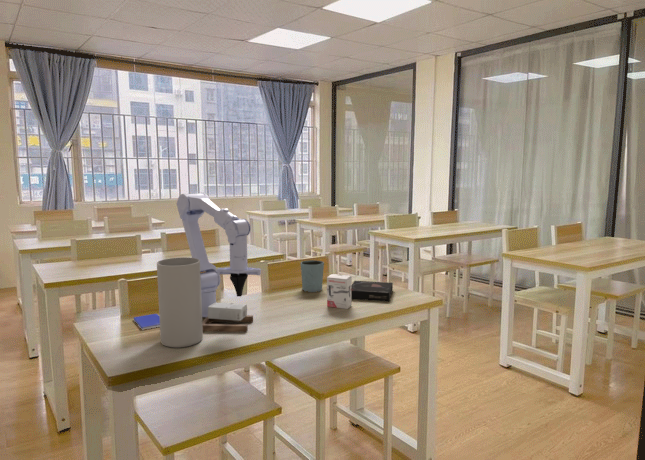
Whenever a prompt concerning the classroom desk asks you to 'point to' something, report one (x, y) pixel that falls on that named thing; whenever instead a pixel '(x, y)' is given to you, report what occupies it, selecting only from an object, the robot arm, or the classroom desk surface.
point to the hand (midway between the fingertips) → (239, 295)
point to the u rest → (226, 325)
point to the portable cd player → (371, 291)
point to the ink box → (339, 291)
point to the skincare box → (227, 311)
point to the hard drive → (148, 321)
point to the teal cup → (312, 275)
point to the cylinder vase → (180, 301)
